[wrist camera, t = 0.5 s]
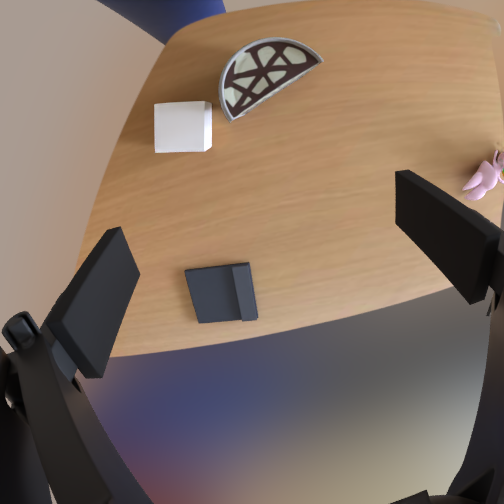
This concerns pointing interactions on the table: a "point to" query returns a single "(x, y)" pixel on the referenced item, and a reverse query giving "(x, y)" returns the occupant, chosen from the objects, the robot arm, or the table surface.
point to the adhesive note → (183, 126)
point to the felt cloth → (222, 293)
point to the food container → (262, 73)
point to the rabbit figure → (485, 177)
